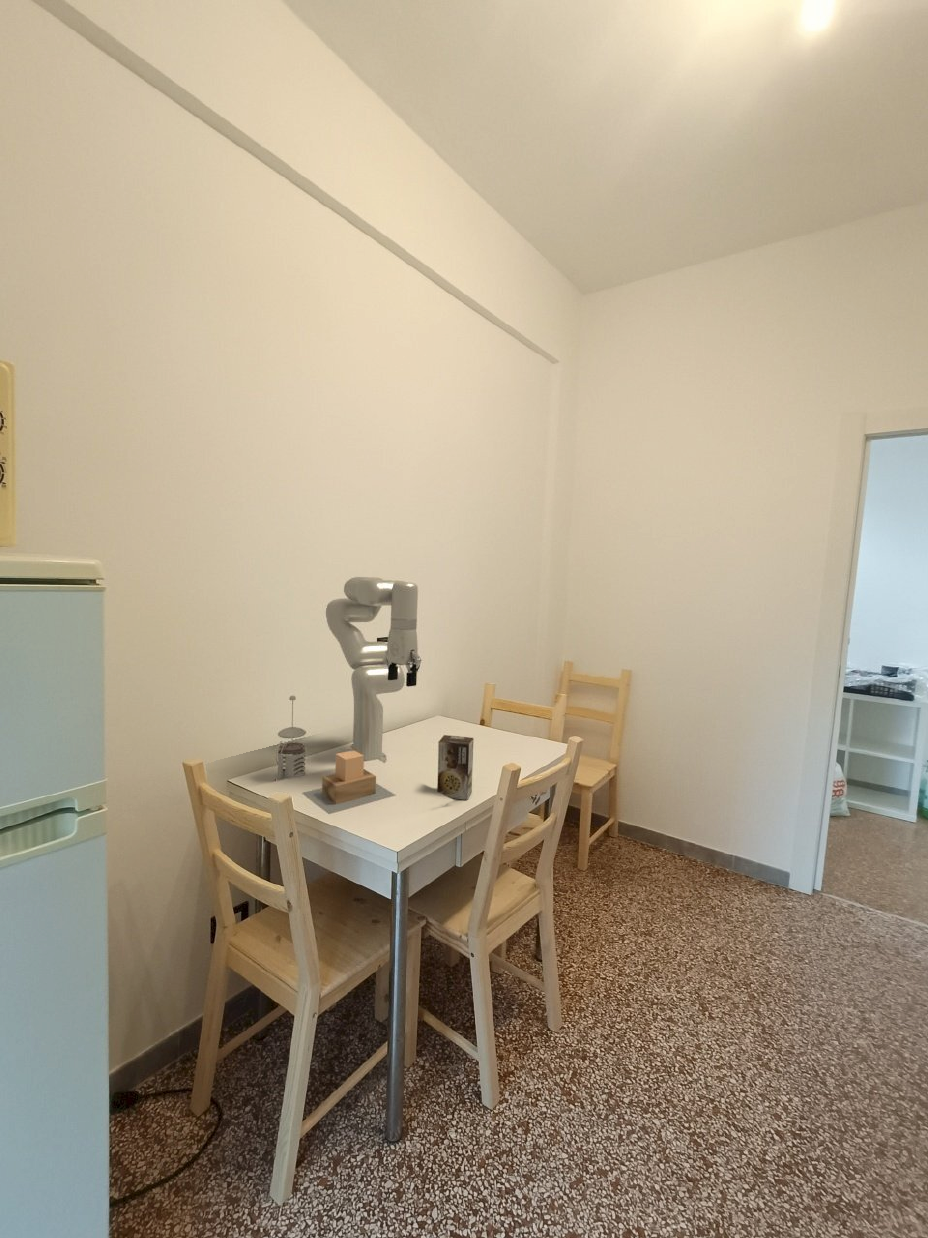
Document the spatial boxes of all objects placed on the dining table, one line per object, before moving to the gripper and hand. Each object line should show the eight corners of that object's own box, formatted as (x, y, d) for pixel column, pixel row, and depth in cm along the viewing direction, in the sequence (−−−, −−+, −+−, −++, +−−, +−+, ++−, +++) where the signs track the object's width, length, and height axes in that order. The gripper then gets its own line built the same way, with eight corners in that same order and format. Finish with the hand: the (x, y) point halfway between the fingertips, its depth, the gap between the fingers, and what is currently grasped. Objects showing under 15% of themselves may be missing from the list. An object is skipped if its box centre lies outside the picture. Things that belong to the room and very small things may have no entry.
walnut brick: (322, 794, 148) (322, 776, 148) (360, 784, 156) (361, 767, 155) (336, 804, 142) (336, 786, 142) (375, 793, 150) (376, 776, 149)
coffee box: (472, 791, 158) (474, 737, 156) (467, 800, 151) (469, 744, 150) (442, 787, 160) (444, 734, 158) (435, 796, 153) (438, 740, 152)
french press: (314, 774, 166) (316, 693, 164) (293, 788, 155) (294, 702, 153) (286, 770, 169) (287, 690, 167) (263, 783, 158) (264, 698, 155)
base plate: (301, 798, 149) (301, 793, 148) (365, 782, 162) (365, 777, 162) (328, 819, 137) (329, 814, 136) (395, 800, 150) (395, 795, 149)
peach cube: (335, 775, 149) (335, 753, 148) (353, 771, 152) (353, 750, 152) (345, 781, 145) (345, 759, 144) (363, 777, 148) (363, 755, 148)
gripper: (376, 622, 162) (375, 678, 164) (409, 628, 149) (407, 690, 151) (398, 621, 167) (396, 676, 169) (431, 627, 154) (429, 687, 155)
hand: (401, 682), depth 160 cm, fingers open, 9 cm apart
